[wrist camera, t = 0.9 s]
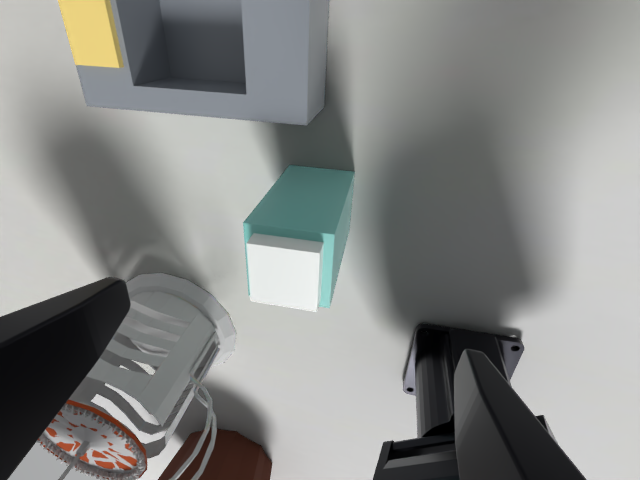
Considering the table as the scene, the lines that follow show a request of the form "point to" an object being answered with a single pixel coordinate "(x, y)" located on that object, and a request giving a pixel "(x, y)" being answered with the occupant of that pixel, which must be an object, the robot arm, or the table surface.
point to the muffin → (221, 458)
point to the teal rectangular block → (299, 238)
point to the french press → (145, 380)
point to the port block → (202, 56)
